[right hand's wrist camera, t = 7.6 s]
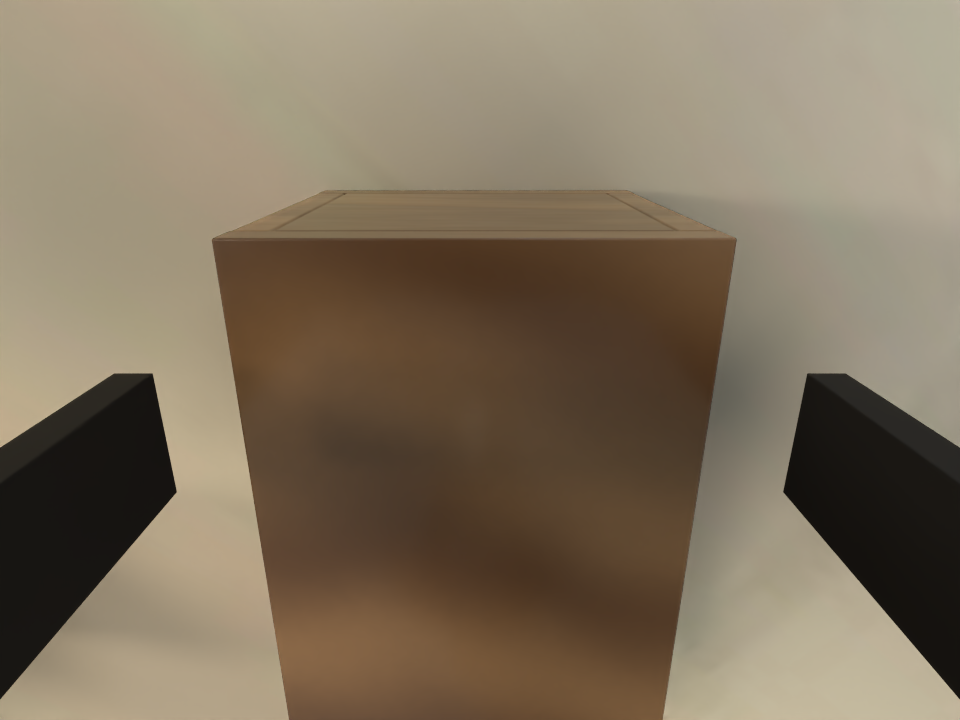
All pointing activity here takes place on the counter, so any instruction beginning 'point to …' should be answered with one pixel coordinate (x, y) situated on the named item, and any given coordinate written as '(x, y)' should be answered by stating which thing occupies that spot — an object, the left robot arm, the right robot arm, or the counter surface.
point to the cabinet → (475, 445)
